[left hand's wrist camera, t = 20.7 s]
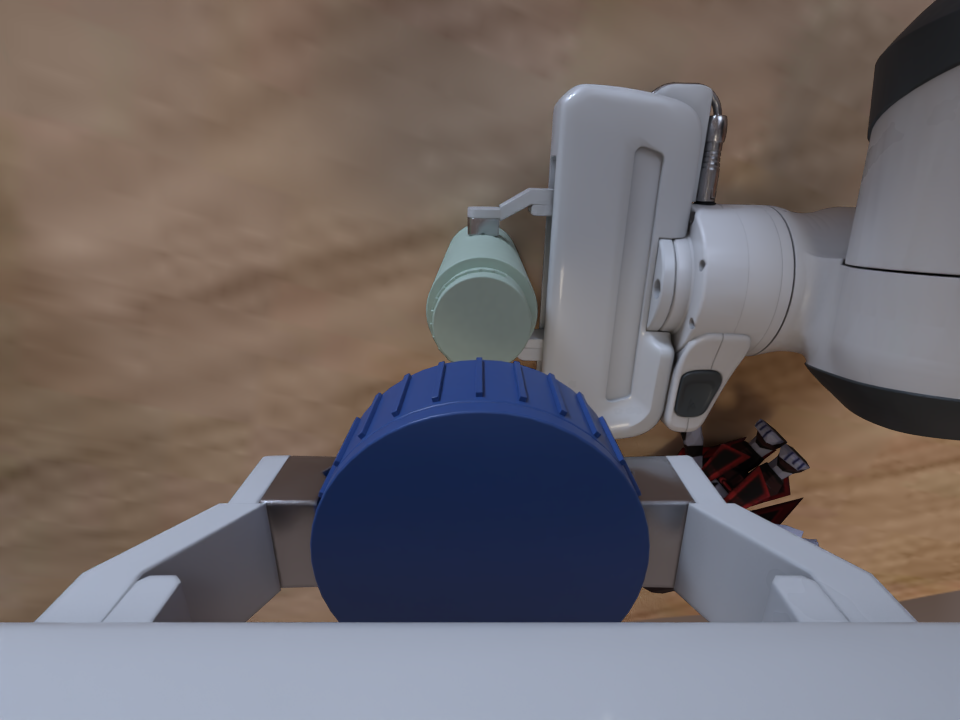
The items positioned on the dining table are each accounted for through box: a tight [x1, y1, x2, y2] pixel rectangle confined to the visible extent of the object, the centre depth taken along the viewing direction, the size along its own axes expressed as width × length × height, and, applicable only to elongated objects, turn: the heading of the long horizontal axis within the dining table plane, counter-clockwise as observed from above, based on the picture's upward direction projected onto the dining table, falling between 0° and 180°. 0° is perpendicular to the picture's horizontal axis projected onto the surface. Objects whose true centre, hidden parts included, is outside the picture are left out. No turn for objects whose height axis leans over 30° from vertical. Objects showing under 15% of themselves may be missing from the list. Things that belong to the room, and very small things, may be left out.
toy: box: [643, 419, 819, 593], centre depth 37 cm, size 12×9×15 cm
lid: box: [310, 357, 650, 622], centre depth 9 cm, size 6×6×2 cm
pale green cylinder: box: [426, 226, 538, 363], centre depth 28 cm, size 5×5×16 cm
